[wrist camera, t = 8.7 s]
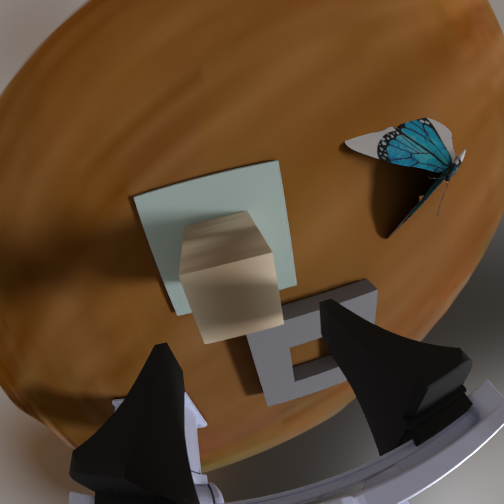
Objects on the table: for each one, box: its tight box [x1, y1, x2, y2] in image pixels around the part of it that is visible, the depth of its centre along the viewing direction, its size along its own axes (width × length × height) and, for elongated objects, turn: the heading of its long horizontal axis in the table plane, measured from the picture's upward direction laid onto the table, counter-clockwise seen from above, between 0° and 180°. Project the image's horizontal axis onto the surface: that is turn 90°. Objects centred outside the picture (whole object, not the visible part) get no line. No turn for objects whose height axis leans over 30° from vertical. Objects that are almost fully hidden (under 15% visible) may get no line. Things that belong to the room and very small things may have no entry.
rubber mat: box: [134, 160, 297, 316], centre depth 20 cm, size 10×10×1 cm
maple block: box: [179, 211, 284, 344], centre depth 16 cm, size 4×4×7 cm
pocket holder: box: [246, 279, 378, 406], centre depth 25 cm, size 12×12×2 cm
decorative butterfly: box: [345, 118, 466, 239], centre depth 19 cm, size 10×6×10 cm
